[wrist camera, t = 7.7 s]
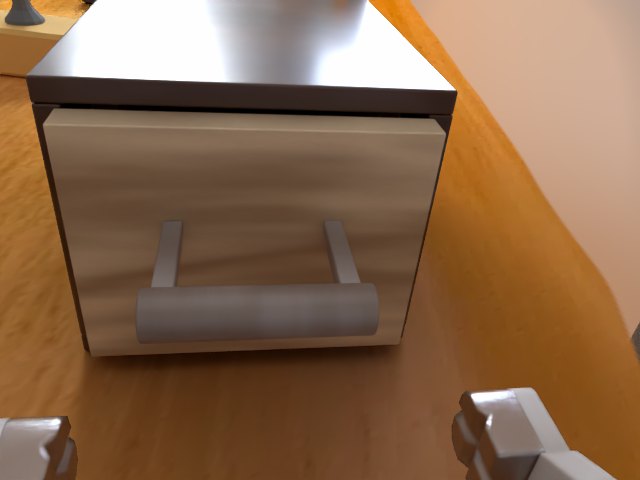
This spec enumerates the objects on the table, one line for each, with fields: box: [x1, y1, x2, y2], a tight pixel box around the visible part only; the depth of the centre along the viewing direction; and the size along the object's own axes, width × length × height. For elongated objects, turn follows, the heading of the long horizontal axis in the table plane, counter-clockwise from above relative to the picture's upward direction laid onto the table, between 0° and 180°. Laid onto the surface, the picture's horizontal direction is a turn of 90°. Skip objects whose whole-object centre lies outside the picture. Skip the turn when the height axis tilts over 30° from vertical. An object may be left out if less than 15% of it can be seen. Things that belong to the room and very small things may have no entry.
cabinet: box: [26, 0, 457, 350], centre depth 25 cm, size 16×13×11 cm
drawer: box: [43, 104, 446, 357], centre depth 22 cm, size 19×11×9 cm, turn 8°
